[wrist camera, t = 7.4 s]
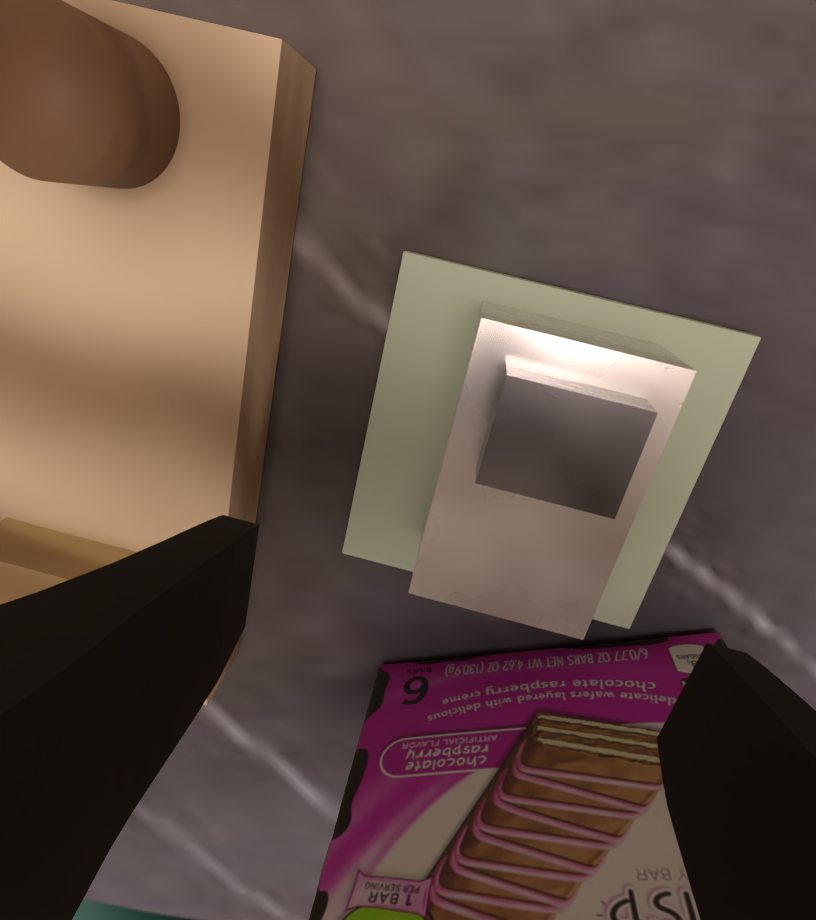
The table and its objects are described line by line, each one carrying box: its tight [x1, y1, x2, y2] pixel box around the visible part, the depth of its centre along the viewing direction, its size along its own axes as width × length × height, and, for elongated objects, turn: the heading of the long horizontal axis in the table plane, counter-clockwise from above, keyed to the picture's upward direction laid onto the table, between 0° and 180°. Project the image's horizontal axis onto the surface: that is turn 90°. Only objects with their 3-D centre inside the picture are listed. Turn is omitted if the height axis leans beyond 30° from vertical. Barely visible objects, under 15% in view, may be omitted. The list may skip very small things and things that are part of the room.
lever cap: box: [408, 301, 697, 640], centre depth 14 cm, size 7×4×4 cm, turn 168°
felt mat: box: [342, 251, 761, 629], centre depth 17 cm, size 9×9×1 cm
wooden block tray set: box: [0, 0, 316, 705], centre depth 16 cm, size 18×7×5 cm, turn 168°
